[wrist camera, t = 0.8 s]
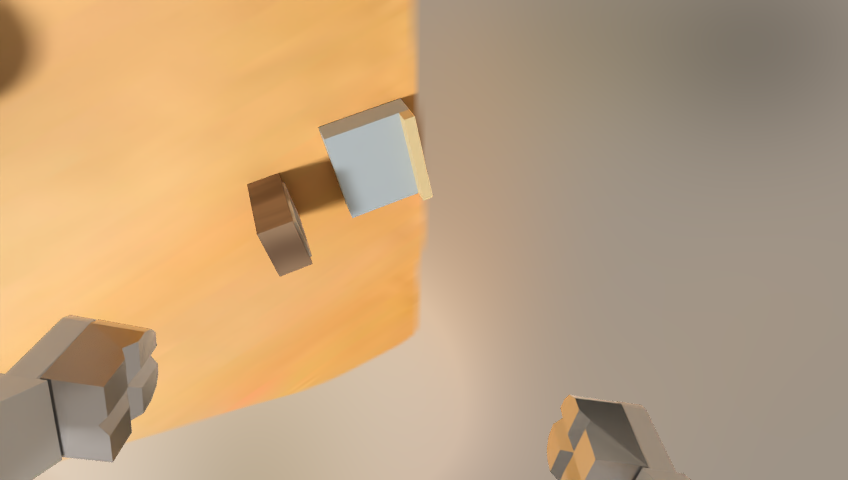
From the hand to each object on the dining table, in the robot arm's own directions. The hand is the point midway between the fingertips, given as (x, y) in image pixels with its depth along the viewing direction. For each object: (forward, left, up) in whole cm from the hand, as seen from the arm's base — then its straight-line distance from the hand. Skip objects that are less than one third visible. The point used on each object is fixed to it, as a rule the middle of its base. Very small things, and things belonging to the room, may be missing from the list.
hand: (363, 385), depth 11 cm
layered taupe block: (+19, 0, -38) cm, 43 cm away
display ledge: (+17, +10, -38) cm, 42 cm away
